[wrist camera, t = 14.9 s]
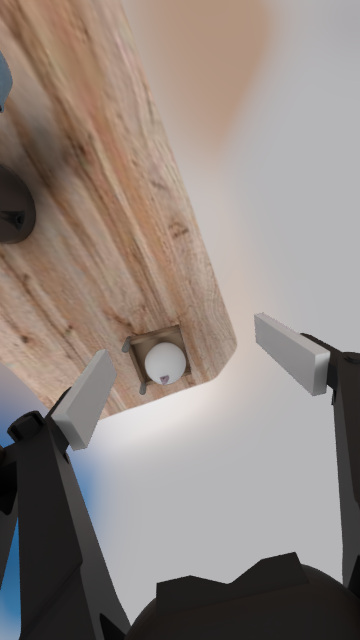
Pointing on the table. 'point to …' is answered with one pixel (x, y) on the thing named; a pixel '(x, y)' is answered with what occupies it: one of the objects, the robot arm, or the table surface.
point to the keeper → (145, 343)
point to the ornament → (165, 363)
